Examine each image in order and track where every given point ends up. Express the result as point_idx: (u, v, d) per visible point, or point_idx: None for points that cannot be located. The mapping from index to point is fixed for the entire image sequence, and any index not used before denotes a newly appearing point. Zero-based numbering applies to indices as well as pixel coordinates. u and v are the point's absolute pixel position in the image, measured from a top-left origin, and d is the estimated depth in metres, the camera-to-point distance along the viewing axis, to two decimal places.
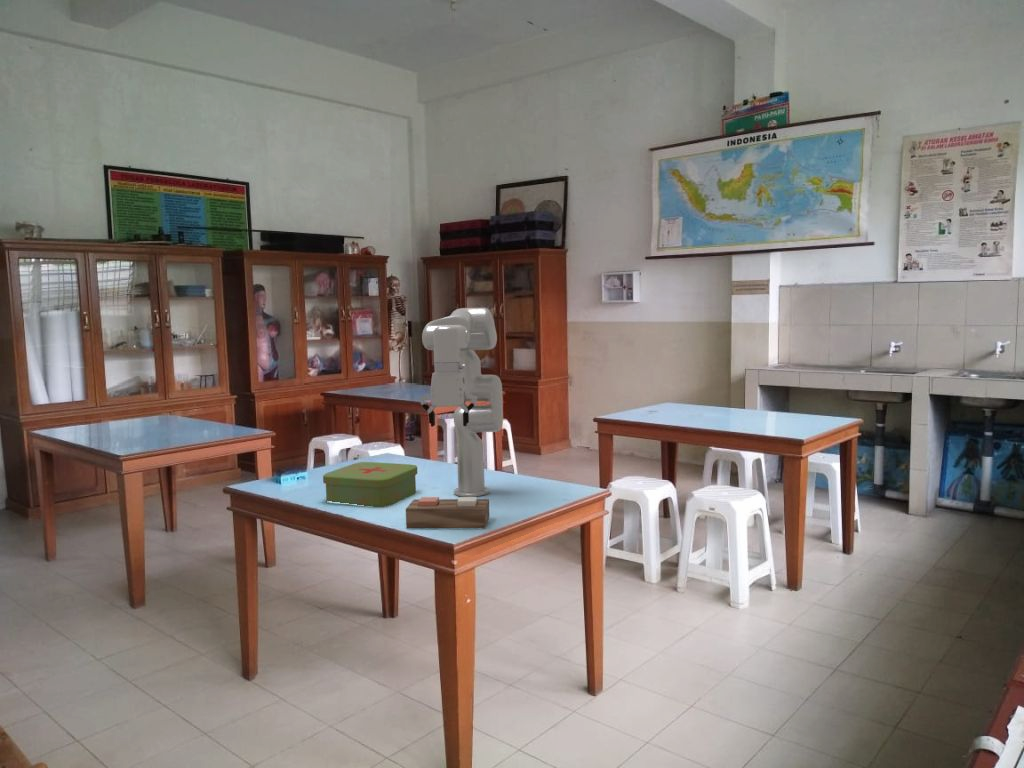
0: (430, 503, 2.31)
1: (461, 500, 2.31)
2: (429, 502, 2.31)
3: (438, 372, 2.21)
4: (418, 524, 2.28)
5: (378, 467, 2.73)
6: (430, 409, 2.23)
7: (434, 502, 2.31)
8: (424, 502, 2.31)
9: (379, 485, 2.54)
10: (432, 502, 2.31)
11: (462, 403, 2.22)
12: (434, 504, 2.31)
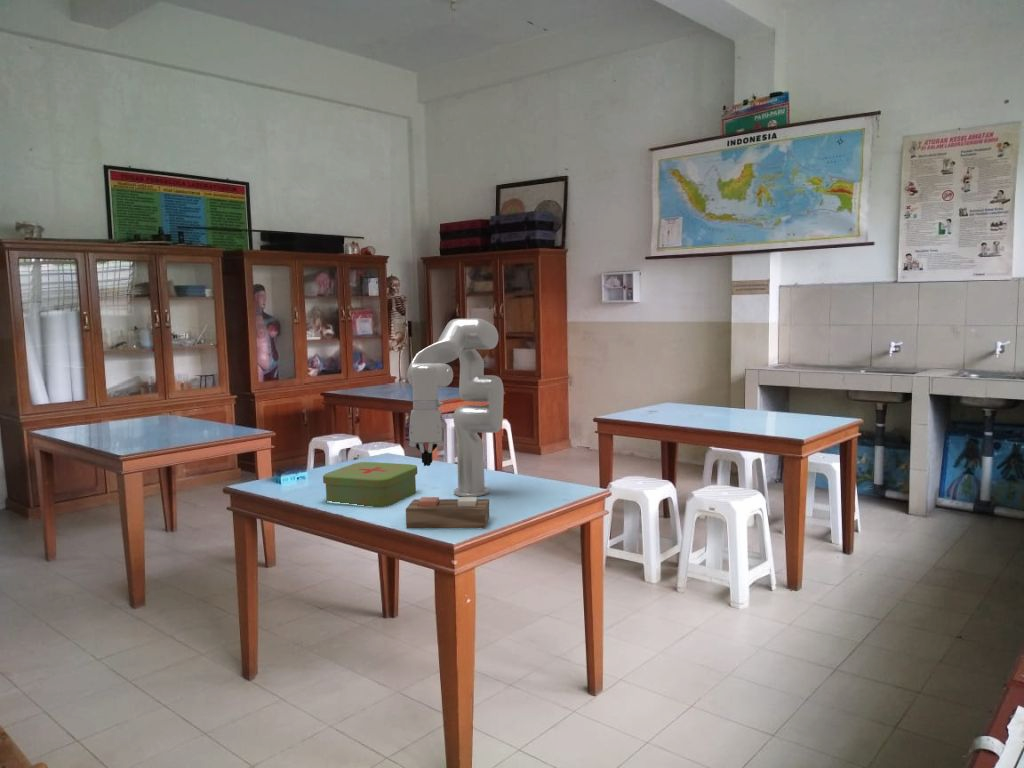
0: (430, 503, 2.31)
1: (461, 500, 2.31)
2: (429, 502, 2.31)
3: (416, 410, 2.28)
4: (418, 524, 2.28)
5: (378, 467, 2.73)
6: (423, 449, 2.31)
7: (434, 502, 2.31)
8: (424, 502, 2.31)
9: (379, 485, 2.54)
10: (432, 502, 2.31)
11: (440, 440, 2.30)
12: (434, 504, 2.31)
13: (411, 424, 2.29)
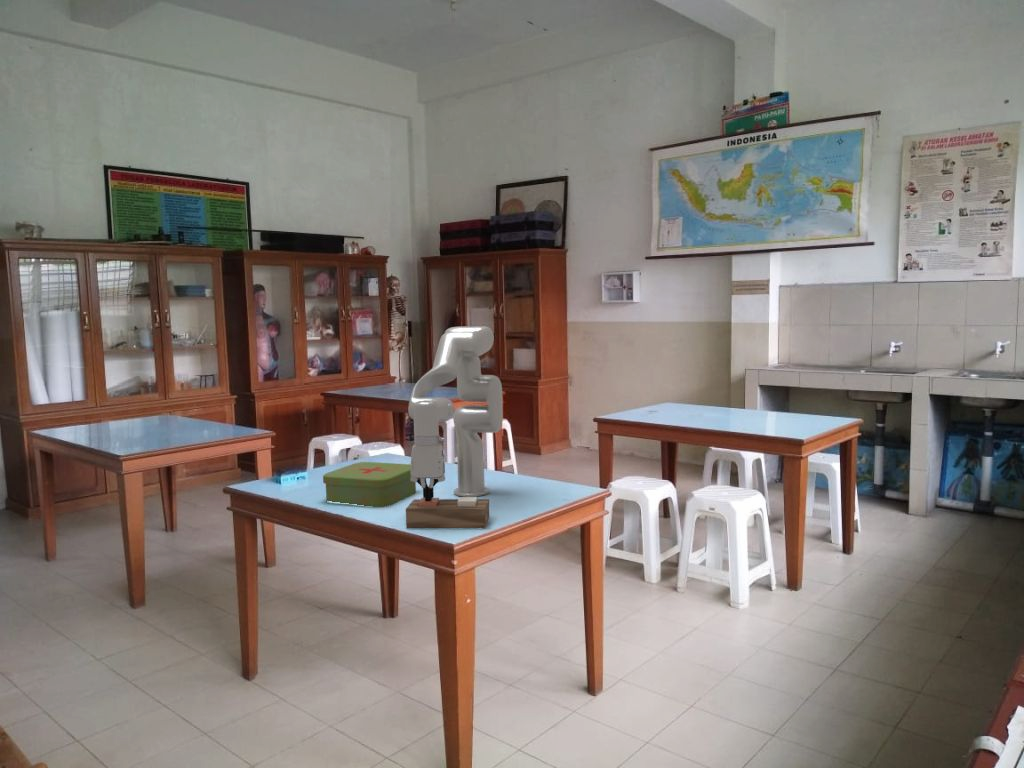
0: (430, 504, 2.31)
1: (461, 500, 2.31)
2: (429, 503, 2.31)
3: (418, 445, 2.29)
4: (418, 524, 2.28)
5: (378, 467, 2.73)
6: (424, 484, 2.32)
7: (434, 503, 2.31)
8: (424, 503, 2.31)
9: (379, 485, 2.54)
10: (432, 503, 2.31)
11: (441, 475, 2.31)
12: (434, 504, 2.31)
13: (412, 459, 2.31)
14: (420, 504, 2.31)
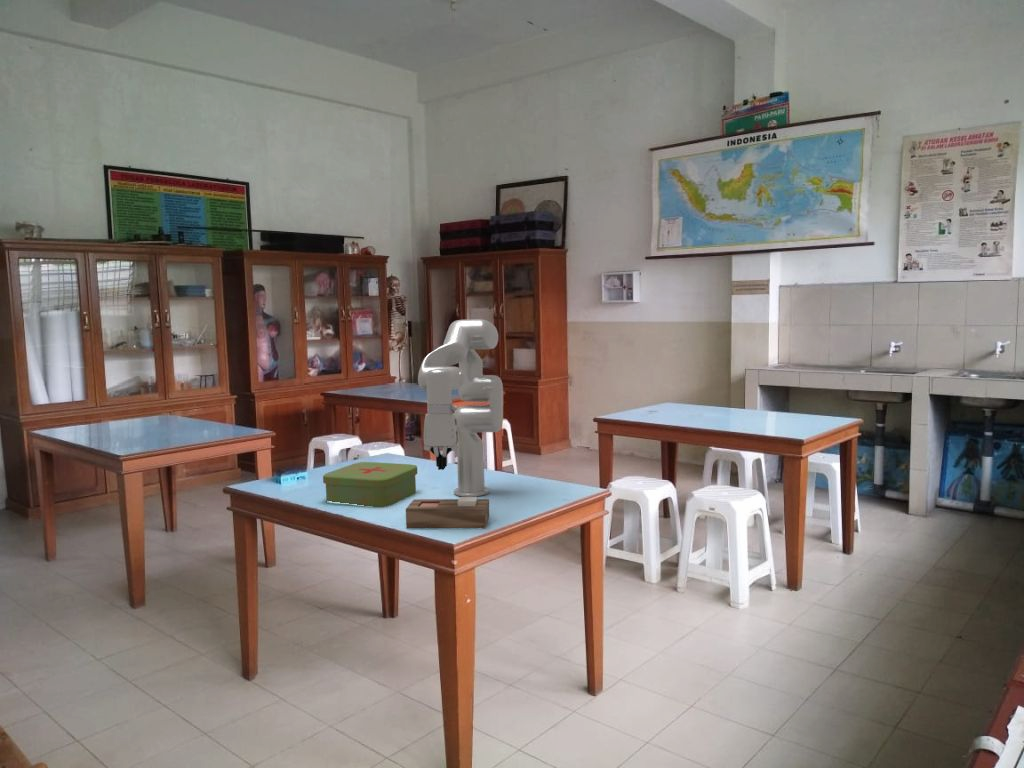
0: None
1: (461, 500, 2.31)
2: None
3: (430, 414, 2.28)
4: (418, 524, 2.28)
5: (378, 467, 2.73)
6: (437, 453, 2.31)
7: None
8: None
9: (379, 485, 2.54)
10: None
11: (454, 444, 2.29)
12: None
13: (425, 428, 2.30)
14: None
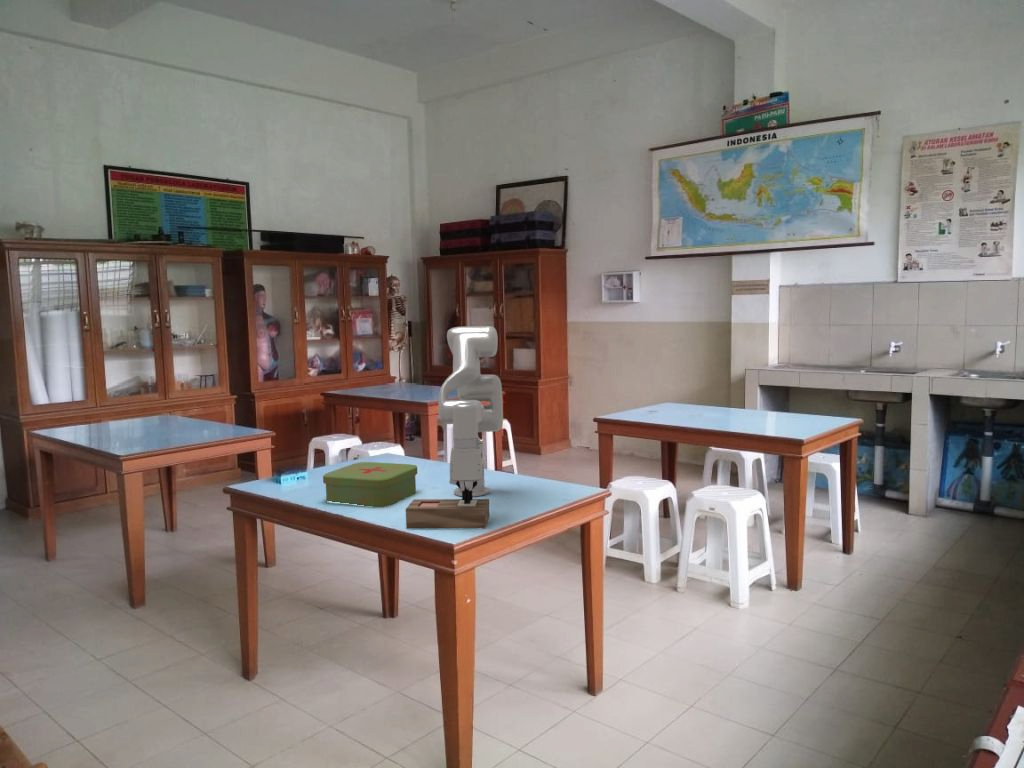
0: None
1: (461, 503, 2.31)
2: None
3: (457, 448, 2.28)
4: (418, 524, 2.28)
5: (378, 467, 2.73)
6: (463, 487, 2.31)
7: None
8: None
9: (379, 485, 2.54)
10: None
11: (480, 477, 2.30)
12: None
13: (452, 462, 2.30)
14: None
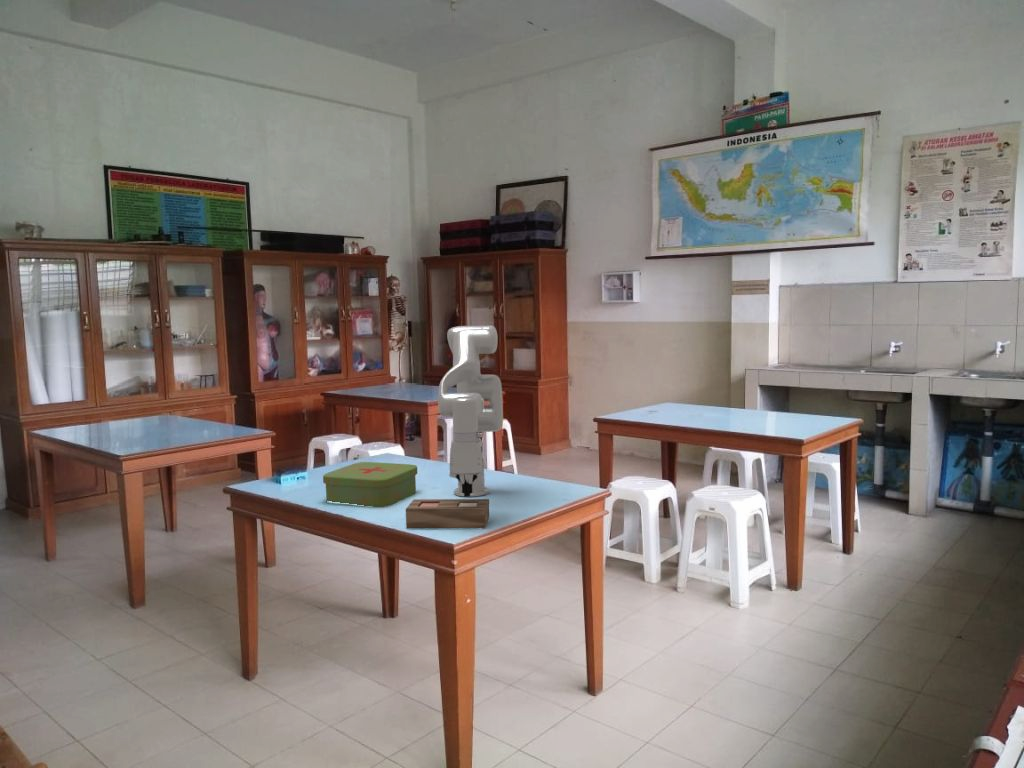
0: None
1: None
2: None
3: (457, 442, 2.28)
4: (418, 524, 2.28)
5: (378, 467, 2.73)
6: (463, 480, 2.32)
7: None
8: None
9: (379, 485, 2.54)
10: None
11: (480, 471, 2.30)
12: None
13: (451, 456, 2.30)
14: None
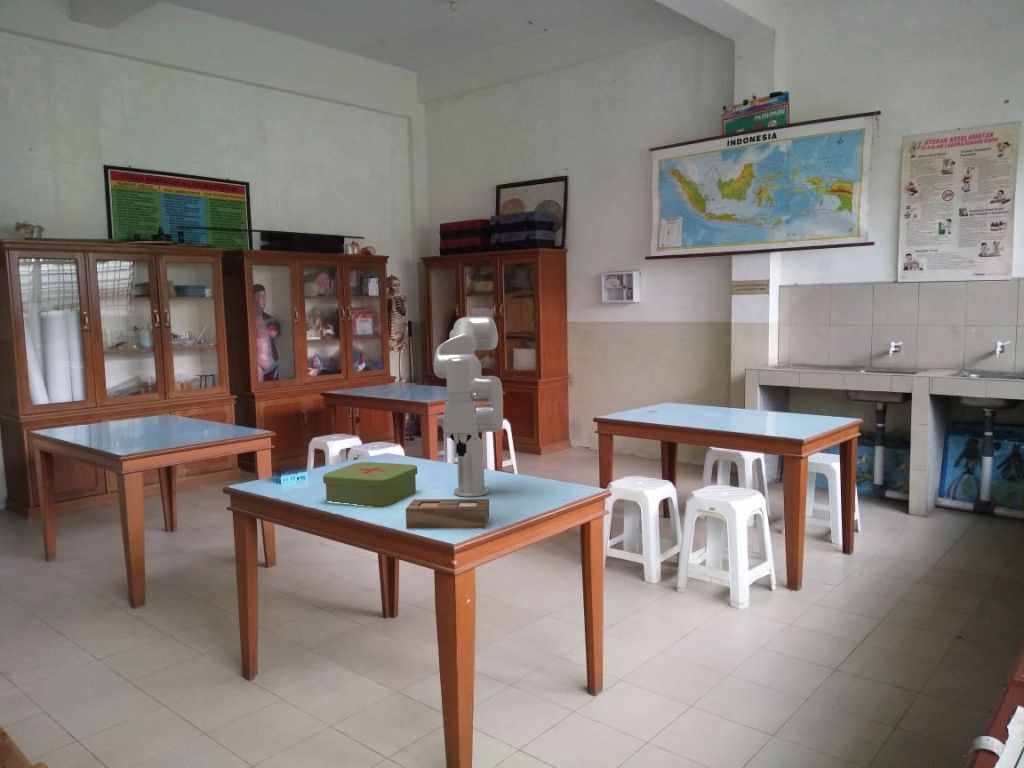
0: None
1: None
2: None
3: (451, 402, 2.30)
4: (418, 524, 2.28)
5: (378, 467, 2.73)
6: (457, 440, 2.34)
7: None
8: None
9: (379, 485, 2.54)
10: None
11: (474, 431, 2.32)
12: None
13: (446, 416, 2.32)
14: None
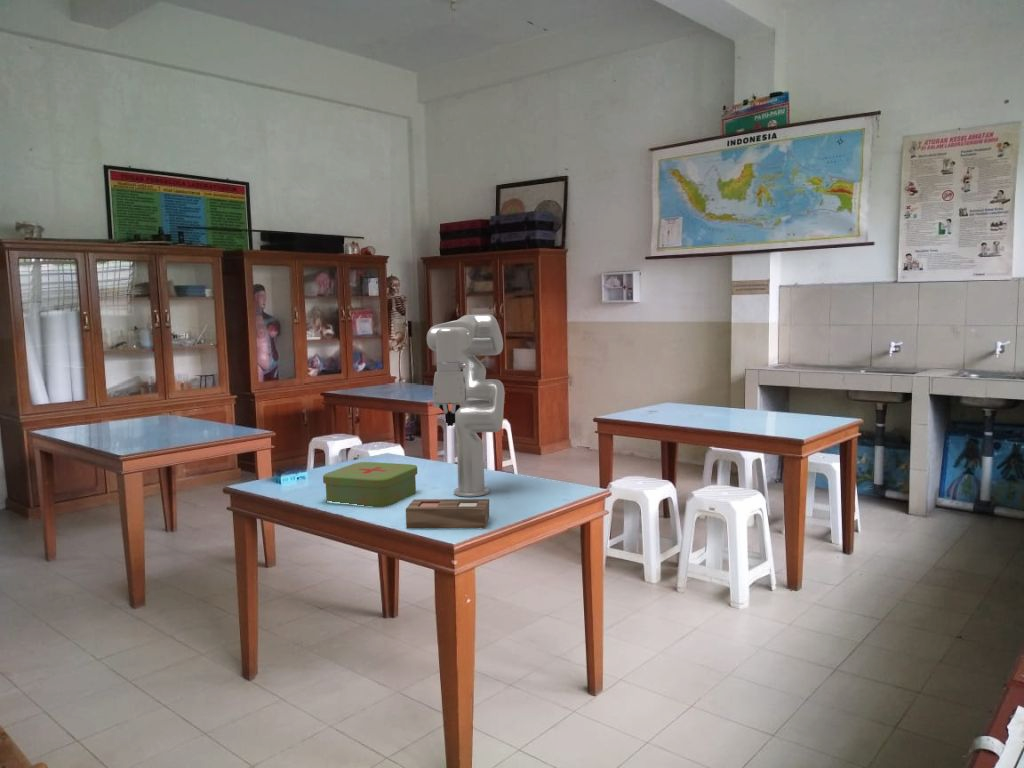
0: None
1: None
2: None
3: (440, 371, 2.36)
4: (418, 524, 2.28)
5: (378, 467, 2.73)
6: (446, 410, 2.38)
7: None
8: None
9: (379, 485, 2.54)
10: None
11: (463, 400, 2.37)
12: None
13: (435, 385, 2.37)
14: None
